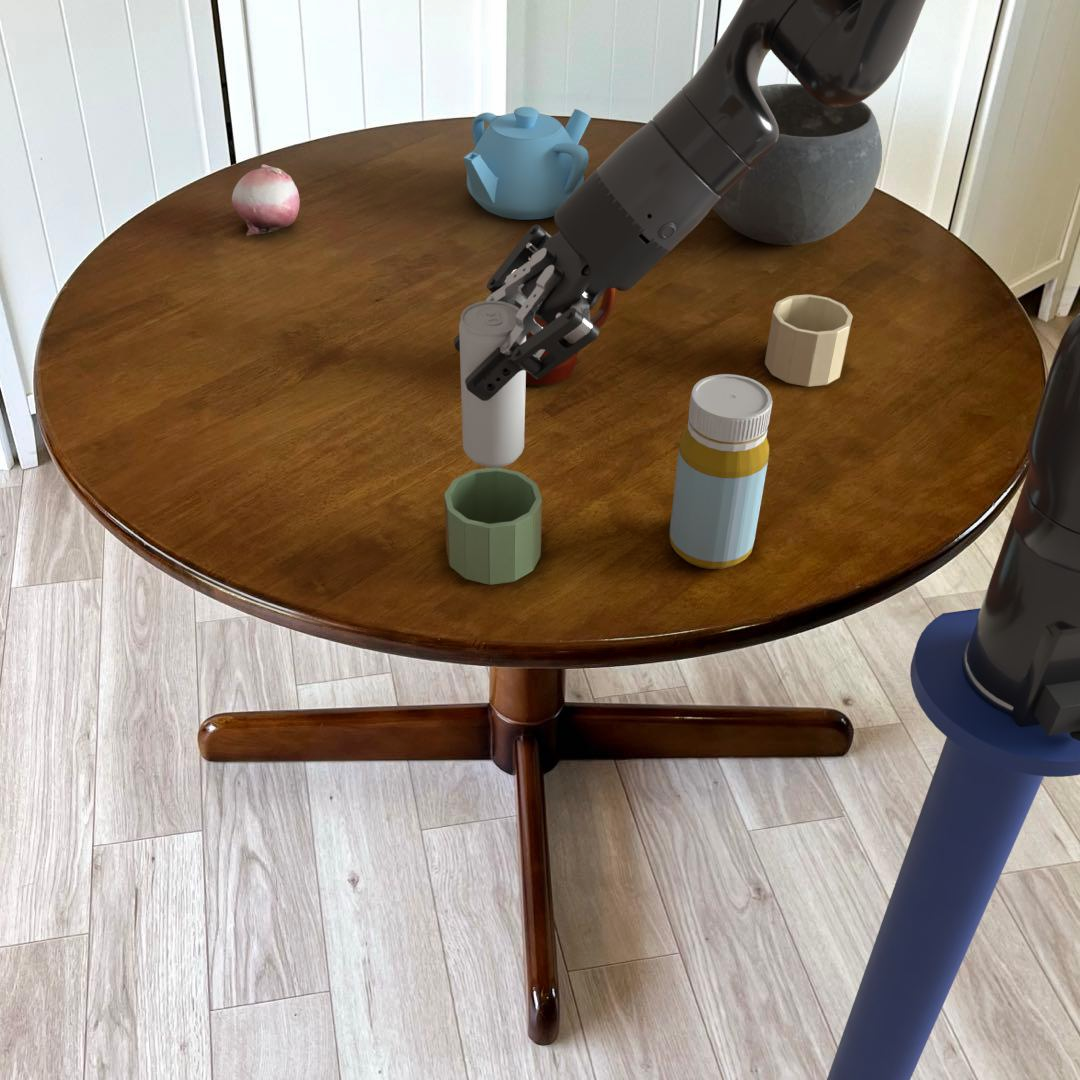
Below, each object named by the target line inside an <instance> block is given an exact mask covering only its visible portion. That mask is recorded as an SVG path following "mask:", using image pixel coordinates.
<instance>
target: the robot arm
mask: <svg viewBox="0 0 1080 1080" xmlns="http://www.w3.org/2000/svg"><path fill="white" fill-rule="evenodd" d="M926 1H927V0H742V2H741V3H740V5H739V7H738V8H737V9H736V11H735V13H734V16H733V17H732V19H731V21H730V22H729V24H728V26H727V27H726V28H725V31H724V32H723V33H722V35H721V37H720V38H719V40H718V41H717V43H716V44H715V46H714V47H713V49H712V50H711V52H710V53H709V55H708V56H707V58H706V59H705V61H704V62H703V64H702V65H700V67H699V68H698V70H697V71H696V73H695V74H694V75H693V77H692V78H691V79H690V80H688V82H687V83H686V84H685V85H684V86H682V88H681V89H680V90H679V91H678V92H677V93H676V94H675V95H674V96H673V97H672V98H671V99H670V100H669V101H668V102H667V103H666V104H665V105H664V106H663V107H662V108H661V109H660V111H658V112H657V113H656V114H655V115H654V116H653V117H652V119H650V120H649V121H648V122H647V123H645V124H644V125H643V126H642V127H641V128H639V129H638V130H636V132H634V133H632V134H631V135H630V136H629V137H628V138H626V139H625V140H624V141H623V142H622V143H621V144H620V145H619V146H618V147H617V148H616V149H615V150H614V151H613V152H612V153H611V154H610V155H609V156H608V157H607V158H606V159H605V160H604V161H603V162H602V163H601V164H600V165H599V166H598V167H597V168H596V169H594V171H593V172H592V173H591V174H590V175H589V176H588V177H587V178H586V179H584V182H583V183H582V184H581V185H580V186H579V187H578V188H577V189H576V190H575V191H574V192H573V193H572V194H571V195H570V196H569V197H568V198H567V199H566V200H565V201H564V202H563V203H562V204H561V205H560V206H559V207H558V208H557V210H556V211H555V214H554V216H553V219H554V223H555V225H556V227H557V229H558V232H557V233H554V234H553V235H550V234H549V233H548V232H547V231H546V230H545V229H543V228H542V227H541V226H540V225H539V224H537V223H536V224H533V225H532V226H531V227H530V228H529V229H528V231H527V232H526V233H525V234H524V236H523V237H522V238H521V240H520V241H519V242H518V243H517V245H515V247H514V248H513V250H512V251H511V252H510V253H509V254H508V256H507V257H506V259H504V261H503V262H502V263H501V264H500V266H499V267H498V268H497V270H495V272H494V274H493V275H492V276H491V277H490V278H489V280H488V281H487V284H486V288H487V290H488V291H490V295H488V296H487V298H486V299H485V301H502V302H507V303H510V304H513V305H515V306H517V307H518V308H519V309H520V310H519V311H518V312H517V314H516V316H515V320H516V326H515V327H514V329H513V330H512V331H511V333H510V334H509V336H508V337H507V338H506V340H505V341H504V342H503V344H502V346H501V348H499V347H498V348H497V349H496V350H495V351H493V352H492V353H491V354H490V355H489V356H488V357H487V358H486V359H485V360H484V361H483V362H482V363H481V364H480V365H479V366H478V367H477V368H476V369H475V370H474V371H473V372H472V373H471V374H470V375H469V376H468V377H467V378H466V380H465V384H466V387H467V390H468V391H470V392H471V393H472V394H474V395H475V396H476V397H478V398H479V399H480V400H482V401H487V400H489V399H491V398H492V397H493V396H494V395H495V394H496V393H497V392H498V391H499V390H500V389H501V388H502V387H503V386H504V385H506V384H507V383H508V382H509V381H510V380H511V379H512V378H513V377H514V376H515V375H516V374H517V373H518V372H520V371H522V370H524V371H527V372H528V373H530V374H531V375H532V376H533V377H535V378H536V379H540V378H542V377H543V376H544V375H546V374H547V373H549V372H550V371H552V370H553V369H554V368H556V367H557V366H559V365H560V364H561V363H563V362H564V361H566V360H567V359H569V358H570V357H571V356H573V355H574V354H576V353H577V352H578V353H579V352H580V351H582V350H583V349H584V348H586V347H587V346H589V345H590V344H591V343H593V342H594V341H596V340H597V338H598V337H599V334H600V327H599V328H598V327H596V326H595V325H594V324H593V323H592V322H591V321H590V318H591V311H592V310H593V309H594V308H595V306H596V305H597V303H598V301H599V300H600V298H601V297H602V296H603V294H604V292H605V290H607V289H609V288H615V290H617V291H621V292H627V291H629V290H631V289H632V288H634V286H635V285H637V283H638V282H639V281H641V280H642V279H643V278H644V277H645V276H646V275H647V274H648V273H649V272H650V271H651V270H652V269H653V268H654V267H655V266H656V265H658V264H659V263H660V262H661V261H662V260H663V259H664V258H665V257H666V256H667V255H668V254H669V253H670V252H671V251H672V250H674V248H675V247H676V246H677V245H679V243H681V242H682V241H683V240H684V239H685V238H686V237H687V236H689V234H690V233H691V232H692V231H693V230H695V228H696V227H697V226H698V225H700V223H701V222H702V221H703V220H704V219H705V217H706V216H708V214H709V213H710V211H711V210H712V208H713V206H714V205H715V204H716V203H717V202H718V201H719V200H720V198H721V196H724V195H725V194H726V193H727V192H728V191H729V190H730V189H731V188H732V187H733V186H734V185H735V184H736V183H737V182H738V181H739V180H740V179H741V178H742V177H744V176H745V175H746V174H747V173H748V172H749V171H750V170H751V168H753V167H754V166H755V165H756V164H757V163H758V162H759V161H760V160H761V159H762V158H763V157H764V156H765V155H766V154H767V153H768V152H769V151H770V150H771V149H772V148H773V147H774V145H775V144H776V142H777V140H778V137H779V128H778V124H777V122H776V120H775V117H774V115H773V114H772V112H771V110H770V108H769V106H768V105H767V103H766V101H765V99H764V97H763V96H762V94H761V91H760V89H759V86H760V85H759V75H760V71H761V67H762V65H763V62H764V60H765V58H766V56H767V55H768V54H769V52H770V51H771V52H772V54H773V55H774V56H775V57H776V58H777V59H778V60H779V61H780V62H781V63H782V65H783V66H784V67H785V68H786V69H787V70H788V72H790V73H791V75H793V77H794V78H795V79H796V80H797V82H798V83H799V84H801V85H802V86H803V87H804V88H805V89H806V90H807V91H808V92H809V94H810V95H811V96H812V97H813V98H814V99H816V100H817V101H818V102H820V103H821V104H823V105H825V106H828V107H834V108H840V107H848V106H851V105H854V104H857V103H859V102H861V101H862V102H864V101H865V100H866V99H868V98H869V97H871V96H872V95H874V94H875V93H876V92H877V91H878V90H879V89H880V88H881V87H882V86H883V85H884V84H885V83H886V82H887V80H888V79H889V78H890V76H892V74H893V72H894V71H895V69H896V68H897V66H898V65H899V62H900V61H901V59H902V57H903V56H904V53H905V52H906V49H907V48H908V45H909V43H910V40H911V38H912V36H913V33H914V31H915V28H916V26H917V23H918V20H919V17H920V15H921V13H922V10H923V8H924V6H925V3H926ZM528 258H531V260H529V259H528ZM515 269H517V270H515ZM513 270H515V271H514V272H512V271H513ZM505 280H506V282H504V281H505ZM517 303H518V304H517ZM534 315H535V316H536V317H538V318H539V319H540V320H541V321H543V322H544V323H545V324H546V325H547V326H545V327H544V328H543V327H542V326H540V325H539V324H538V323H537V322H536V321H535V320H534ZM529 332H531V333H532V334H533V336H532V337H530V338H529V339H528V340H526V341H525V342H524V343H522V344H521V345H520V343H521V342H522V340H523V339H524V337H525V336H526V335H527V333H529ZM453 344H454V345H453V346H454V348H455V350H456V351H457V352H459V353H460V336H459V333H458V334H457V335H456V336H455V337H454V339H453ZM545 350H546V351H547V352H548V353H549V354H548V355H546V356H545V357H543V358H542V359H541V360H540V359H539V358H540V357H541V355H542V354H543V353H544V351H545ZM1045 380H1046V382H1045V385H1044V387H1043V391H1042V394H1041V397H1040V399H1039V400H1040V401H1039V403H1038V404H1039V405H1038V406H1037V407H1038V408H1037V411H1036V414H1035V417H1034V422H1033V425H1032V428H1031V432H1030V435H1029V440H1028V446H1027V447H1028V448H1027V453H1028V455H1027V456H1028V462H1029V466H1028V470H1027V472H1026V476H1025V479H1024V482H1023V485H1022V488H1021V491H1020V493H1019V496H1018V499H1017V502H1016V505H1015V508H1014V511H1013V513H1012V515H1011V519H1010V522H1009V525H1008V528H1007V531H1006V534H1005V536H1004V540H1003V542H1002V545H1001V548H1000V550H999V551H1000V552H999V555H998V557H997V560H996V563H995V565H994V568H993V571H992V574H991V578H990V580H989V584H988V585H987V589H986V592H985V595H984V597H983V598H984V599H983V601H982V604H981V607H980V608H981V609H980V612H979V615H978V618H977V621H976V625H975V628H974V631H973V633H972V636H971V639H970V640H969V642H968V644H967V646H966V649H965V652H964V655H963V660H962V667H963V672H964V675H965V677H966V680H967V682H968V683H969V685H970V686H971V688H972V689H973V690H974V691H975V693H976V694H977V695H978V696H979V697H980V698H982V699H983V700H984V701H985V702H987V703H988V704H989V705H991V706H992V707H994V708H996V709H997V710H999V711H1001V712H1003V713H1005V714H1007V715H1009V716H1011V718H1012V719H1013V720H1014V721H1015V723H1016V724H1017V725H1018V726H1019V727H1027V726H1033V725H1040V724H1041V726H1042V727H1043V729H1044V730H1045V731H1046V733H1047V734H1048V736H1050V735H1057V734H1063V733H1069V732H1070V736H1071V737H1072V738H1074V739H1077V740H1079V741H1080V312H1079V313H1078V314H1077V315H1076V316H1075V317H1074V319H1072V321H1071V322H1070V323H1069V325H1068V326H1067V329H1066V330H1065V332H1064V333H1063V336H1062V337H1061V340H1060V342H1059V344H1058V346H1057V348H1056V351H1055V354H1054V356H1053V358H1052V361H1051V365H1050V368H1049V371H1048V374H1047V378H1046V379H1045Z"/></svg>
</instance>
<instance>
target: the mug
mask: <svg viewBox="0 0 1080 1080" xmlns="http://www.w3.org/2000/svg"><path fill="white" fill-rule="evenodd" d="M528 259H529V260H531V258H530V257H528ZM515 270H517V269H515ZM515 270H513V271H512V272H514V271H515ZM504 282H506V280H505V281H504ZM601 299H602V300H601V303H600V306H599V308H598V310H597V311H596V313H595V314H594V315H593V316H592V317H590V321H591V322H592V323H593V324H594V325H595V326H596V327H598V328H599V329H600V328H601V327H602V326H603V325H604V324H605V323H606V322H607V320H608V319H609V317H610V315H611V313H612V311H613V308H614V304H615V301H616V288H609V289H607V290H605V292H604V293H603V294H602V298H601ZM517 304H518V303H517ZM534 320H535V321H536V322H537V323H538V324H539V325H540V326H542V327H543V328H544V327H545V326H547V325H546V324H545V323H544V322H543V321H541V320H540V319H539V318H538V317H536V316H535V315H534ZM532 336H533V334H532V333H531V332H529V333H527V335H526V340H528V339H529V338H530V337H532ZM548 354H549V353H548V352H547V351H546V350H545V351H544V353H543V354H542V355H541V357H540V358H539V359H540V360H541V359H542V358H543V357H545V356H546V355H548ZM578 355H579V352H577V353H576V354H574V355H573V356H571V357H570V358H569V359H567V360H566V361H564V362H563V363H561V364H560V365H559V366H557V367H556V368H554V369H553V370H552V371H550V372H549V373H547V374H546V375H544V376H543V377H542V378H540V379H536V378H535V377H533V376H532V375H531V374H530V373H528V372H527V371H526V385H529V386H535V387H545V386H552V385H556V384H559V383H560V382H562V381H564V380H566V379H568V378H569V377H570V376H571V375H572V374H573V372H574V370H575V367H576V364H577V362H578Z"/></svg>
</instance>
